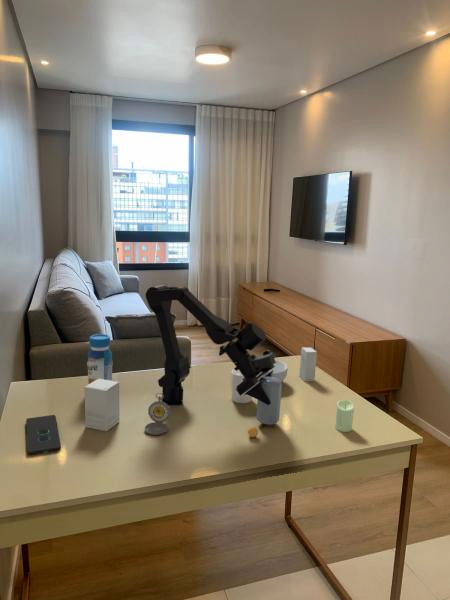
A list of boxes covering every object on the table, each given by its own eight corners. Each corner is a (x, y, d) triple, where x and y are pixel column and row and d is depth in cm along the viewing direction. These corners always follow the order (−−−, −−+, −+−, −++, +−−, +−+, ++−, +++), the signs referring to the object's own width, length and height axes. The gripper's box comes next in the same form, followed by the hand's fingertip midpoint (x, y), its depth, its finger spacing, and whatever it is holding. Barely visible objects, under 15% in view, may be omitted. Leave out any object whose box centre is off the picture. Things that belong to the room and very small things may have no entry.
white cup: (251, 405, 151) (252, 377, 149) (228, 402, 153) (229, 374, 151) (254, 396, 159) (256, 369, 157) (232, 393, 160) (233, 366, 158)
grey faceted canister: (274, 426, 133) (277, 386, 131) (253, 421, 136) (256, 381, 134) (281, 417, 139) (284, 379, 137) (261, 412, 142) (263, 375, 140)
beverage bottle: (116, 394, 155) (116, 338, 151) (92, 399, 150) (91, 341, 146) (107, 386, 162) (107, 332, 158) (84, 390, 157) (83, 334, 153)
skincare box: (314, 381, 176) (317, 351, 173) (304, 381, 175) (307, 352, 173) (308, 375, 182) (311, 347, 179) (298, 376, 181) (301, 347, 178)
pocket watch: (148, 438, 127) (149, 404, 125) (139, 425, 134) (140, 393, 132) (176, 432, 131) (177, 400, 129) (166, 420, 138) (166, 389, 136)
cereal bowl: (244, 373, 182) (245, 356, 180) (286, 376, 179) (287, 359, 178) (240, 388, 165) (241, 370, 164) (286, 393, 163) (287, 374, 162)
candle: (350, 433, 135) (353, 407, 133) (333, 430, 137) (336, 404, 135) (352, 426, 140) (355, 401, 138) (335, 423, 141) (338, 398, 140)
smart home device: (27, 451, 115) (25, 418, 132) (27, 458, 115) (25, 423, 133) (61, 446, 118) (55, 414, 136) (61, 452, 118) (55, 419, 136)
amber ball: (248, 439, 128) (249, 429, 128) (246, 434, 131) (247, 424, 131) (259, 439, 129) (259, 429, 128) (256, 434, 132) (257, 424, 131)
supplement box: (120, 421, 136) (120, 381, 133) (106, 432, 129) (106, 390, 126) (99, 416, 138) (98, 377, 136) (84, 427, 131) (83, 386, 129)
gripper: (248, 351, 126) (283, 397, 124) (270, 336, 143) (301, 376, 141) (222, 373, 131) (255, 417, 129) (245, 355, 148) (275, 394, 146)
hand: (273, 400), depth 136 cm, fingers closed on grey faceted canister, 6 cm apart
